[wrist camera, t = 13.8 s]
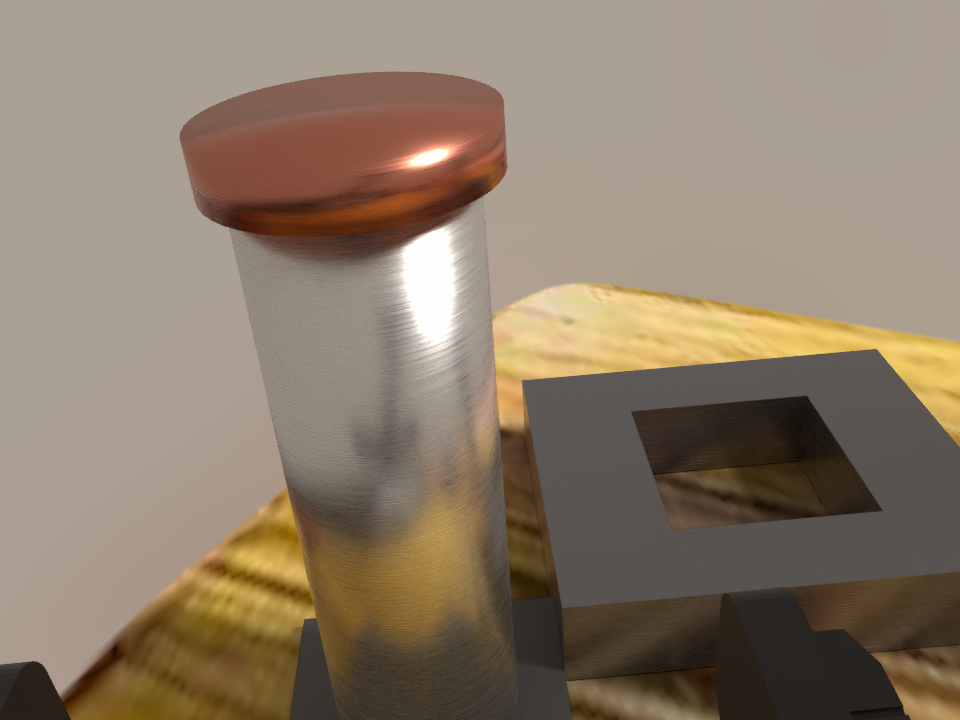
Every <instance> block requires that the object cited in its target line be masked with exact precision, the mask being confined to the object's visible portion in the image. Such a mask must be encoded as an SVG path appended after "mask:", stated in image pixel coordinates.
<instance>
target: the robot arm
mask: <svg viewBox="0 0 960 720" xmlns="http://www.w3.org/2000/svg"><path fill="white" fill-rule="evenodd" d="M715 681H716V695H717V703H718V709H719V715H720V719H721V720H910V718H909V716H908V715H905V713H904V710H903V705H902V703H901V701H900V699H899V697H898V695H897V693H896V691H895V689H894V688H893V686H892V684H891V682H890V680H889V678H888V676H887V674H886V672H885V671H884V669H883V667H882V665H881V663H880V662H879V661H878V660H876V659H875V658H874V657H873V656H872V655H871V654H870V653H869V652H868V651H867V650H866V649H865V648H863V647H862V646H861V645H860V644H859V643H858V642H857V641H856V640H855V639H854V638H853V637H852V636H851V635H849V634H848V633H847V632H846V631H845V630H844V629H836V630H826V631H817V632H813V631H812V629H811V627H810V625H809V623H808V621H807V619H806V616H805V614H804V612H803V610H802V608H801V606H800V604H799V601H798V599H797V598H796V596H795V594H794V593H793V591H792V590H791V589H790V588H788V587H777V588H767V589H758V590H748V591H738V592H728V593H724V594H723V596H722V599H721V607H720V621H719V635H718V648H717V662H716V679H715ZM0 720H71V719H70V717H69V715H68V713H67V711H66V709H65V707H64V705H63V703H62V701H61V699H60V697H59V695H58V693H57V691H56V689H55V687H54V685H53V683H52V681H51V679H50V677H49V675H48V673H47V671H46V669H45V668H44V666H43V665H42V664H40V663H38V662H34V661H32V662H23V663H14V664H5V665H4V664H3V665H0Z"/></svg>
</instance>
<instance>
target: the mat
mask: <svg viewBox="0 0 960 720" xmlns="http://www.w3.org/2000/svg"><path fill="white" fill-rule="evenodd" d="M512 613H513V627H514V642H515V656H516V670H517V685H518V699H519V720H572V715H571V709H570V703H569V697H568V691H567V685H566V679H565V673H564V666H563V660H562V654H561V648H560V642H559V636H558V630H557V624H556V618H555V612H554V606H553V600H552V597H544V598H533V599H522V600H512ZM290 720H339V716H338V712H337V707H336V703H335V698H334V694H333V689H332V685H331V680H330V676H329V671H328V667H327V663H326V658H325V654H324V649H323V645H322V640H321V636H320V631H319V627H318V622H317V618H314V619H304V624H303V631H302V638H301V645H300V652H299V659H298V665H297V672H296V679H295V686H294V693H293V700H292V707H291V713H290Z"/></svg>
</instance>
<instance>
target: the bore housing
mask: <svg viewBox="0 0 960 720" xmlns="http://www.w3.org/2000/svg"><path fill="white" fill-rule="evenodd" d="M522 389H523V407H524V425H525V443H526V449H527V455H528V461H529V467H530V473H531V479H532V485H533V491H534V497H535V503H536V509H537V516H538V522H539V528H540V534H541V540H542V546H543V552H544V558H545V564H546V570H547V576H548V582H549V589H550V595H551V597H552V600H553V606H554V612H555V618H556V624H557V630H558V636H559V642H560V648H561V654H562V660H563V666H564V673H565V679H566V680H576V679H587V678H598V677H609V676H620V675H630V674H641V673H652V672H663V671H674V670H684V669H695V668H706V667H716V662H717V648H718V635H719V621H720V607H721V599H722V596H723V594H724V593H728V592H738V591H748V590H758V589H767V588H777V587H788V588H790V589H791V590H792V591H793V593H794V594H795V596H796V598H797V599H798V601H799V604H800V606H801V608H802V610H803V612H804V614H805V616H806V619H807V621H808V623H809V625H810V627H811V629H812V631H813V632H817V631H826V630H836V629H844V630H845V631H846V632H847V633H848V634H849V635H851V636H852V637H853V638H854V639H855V640H856V641H857V642H858V643H859V644H860V645H861V646H862V647H863V648H865V649H866V650H867V651H868V652H879V651H890V650H901V649H912V648H923V647H933V646H944V645H955V644H960V447H959V446H958V445H957V444H956V443H955V441H954V440H953V439H952V438H951V437H950V435H949V434H948V433H947V432H946V431H945V430H944V428H943V427H942V426H941V425H940V424H939V422H938V421H937V420H936V419H935V418H934V417H933V415H932V414H931V413H930V412H929V411H928V409H927V408H926V407H925V406H924V405H923V404H922V402H921V401H920V400H919V399H918V398H917V396H916V395H915V394H914V393H913V392H912V391H911V389H910V388H909V387H908V386H907V385H906V383H905V382H904V381H903V380H902V379H901V378H900V376H899V375H898V374H897V373H896V372H895V370H894V369H893V368H892V367H891V366H890V365H889V363H888V362H887V361H886V360H885V359H884V357H883V356H882V355H881V354H880V353H879V352H878V350H877V349H872V350H861V351H850V352H838V353H827V354H816V355H805V356H793V357H782V358H771V359H760V360H748V361H737V362H726V363H715V364H703V365H692V366H681V367H670V368H658V369H647V370H636V371H625V372H613V373H602V374H591V375H580V376H568V377H557V378H546V379H535V380H523V381H522ZM791 461H799V463H800V465H801V467H802V468H803V470H804V472H805V474H806V475H807V477H808V479H809V480H810V482H811V484H812V486H813V487H814V489H815V491H816V492H817V494H818V496H819V498H820V499H821V501H822V503H823V505H824V506H825V508H826V510H827V511H828V513H829V515H830V516H823V517H812V518H801V519H790V520H779V521H768V522H757V523H746V524H735V525H724V526H713V527H702V528H691V529H680V530H672V528H671V525H670V522H669V519H668V516H667V513H666V510H665V508H664V505H663V502H662V499H661V496H660V493H659V490H658V487H657V485H656V482H655V479H654V476H653V474H658V473H669V472H680V471H691V470H702V469H713V468H725V467H736V466H747V465H758V464H769V463H780V462H791Z"/></svg>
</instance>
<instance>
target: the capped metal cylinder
mask: <svg viewBox="0 0 960 720" xmlns="http://www.w3.org/2000/svg"><path fill="white" fill-rule="evenodd" d="M180 142H181V146H182V150H183V154H184V158H185V162H186V167H187V170H188V175H189V179H190V183H191V187H192V191H193V195H194V200H195V203H196V206H197V208H198V209H199V211H200V212H201V213H202V214H203V215H204V216H206V217H207V218H209V219H210V220H212V221H214V222H216V223H218V224H220V225H223V226H226V227H229V230H230V234H231V239H232V243H233V247H234V252H235V256H236V261H237V265H238V270H239V274H240V279H241V283H242V288H243V292H244V297H245V301H246V305H247V310H248V314H249V319H250V323H251V328H252V332H253V337H254V341H255V346H256V350H257V354H258V359H259V363H260V368H261V372H262V376H263V381H264V386H265V390H266V395H267V399H268V404H269V408H270V412H271V417H272V421H273V426H274V430H275V435H276V439H277V444H278V448H279V453H280V457H281V462H282V466H283V470H284V475H285V479H286V484H287V489H288V493H289V497H290V502H291V506H292V511H293V515H294V520H295V524H296V529H297V533H298V538H299V542H300V547H301V551H302V555H303V560H304V564H305V569H306V573H307V578H308V582H309V587H310V591H311V596H312V600H313V605H314V609H315V613H316V618H317V622H318V627H319V631H320V636H321V640H322V645H323V649H324V654H325V658H326V663H327V667H328V671H329V676H330V680H331V685H332V689H333V694H334V698H335V703H336V707H337V712H338V716H339V720H519V699H518V685H517V670H516V656H515V642H514V627H513V613H512V598H511V584H510V570H509V555H508V541H507V527H506V512H505V498H504V483H503V469H502V455H501V440H500V426H499V412H498V397H497V383H496V368H495V354H494V340H493V325H492V311H491V297H490V282H489V268H488V254H487V239H486V226H485V211H484V197H483V196H484V195H485V194H487V193H488V192H490V191H491V190H492V189H493V188H494V187H495V186H496V185H497V184H499V183H500V181H501V180H502V179H503V177H504V176H505V173H506V170H507V156H506V137H505V118H504V101H503V98H502V96H501V94H500V93H499V92H498V91H496V90H495V89H494V88H492V87H490V86H489V85H486V84H484V83H481V82H478V81H475V80H472V79H468V78H464V77H458V76H453V75H445V74H437V73H424V72H371V73H356V74H346V75H335V76H327V77H320V78H313V79H307V80H301V81H296V82H290V83H285V84H281V85H276V86H272V87H267V88H263V89H260V90H256V91H253V92H249V93H246V94H243V95H240V96H236V97H233V98H231V99H228V100H226V101H223V102H220V103H218V104H216V105H214V106H212V107H210V108H208V109H206V110H204V111H202V112H200V113H199V114H197V115H196V116H194V117H193V118H192V119H190V120H189V121H188V122H187V123H186V124H185V125H184V126H183V129H182V130H181V132H180Z"/></svg>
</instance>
